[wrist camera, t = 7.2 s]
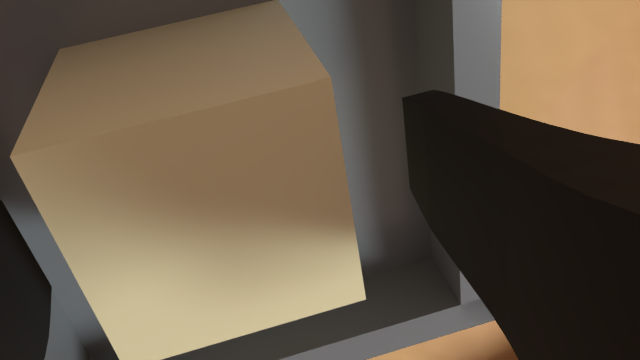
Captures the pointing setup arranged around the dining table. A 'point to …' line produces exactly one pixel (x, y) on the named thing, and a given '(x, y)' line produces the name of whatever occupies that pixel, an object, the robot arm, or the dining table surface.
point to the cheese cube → (195, 180)
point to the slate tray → (357, 144)
